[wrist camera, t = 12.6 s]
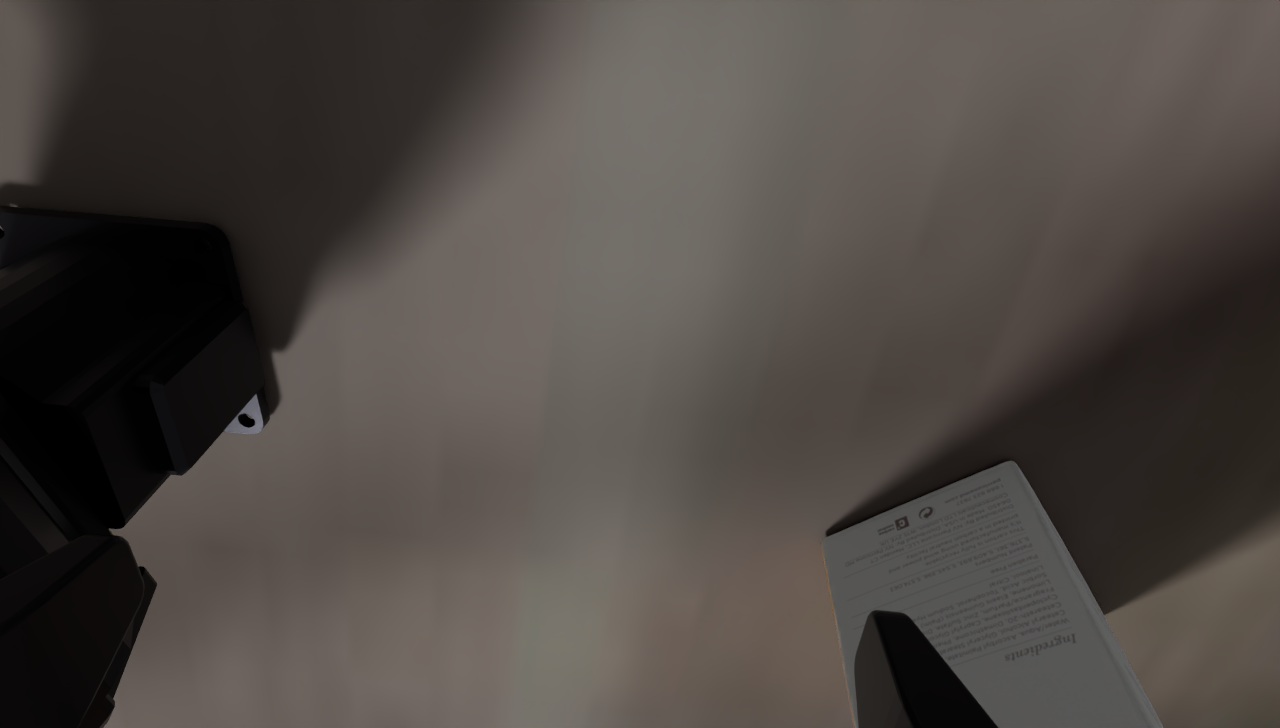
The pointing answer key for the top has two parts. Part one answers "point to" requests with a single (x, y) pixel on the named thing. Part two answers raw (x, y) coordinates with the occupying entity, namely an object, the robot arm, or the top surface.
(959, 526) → the small box
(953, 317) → the top surface
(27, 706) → the robot arm
